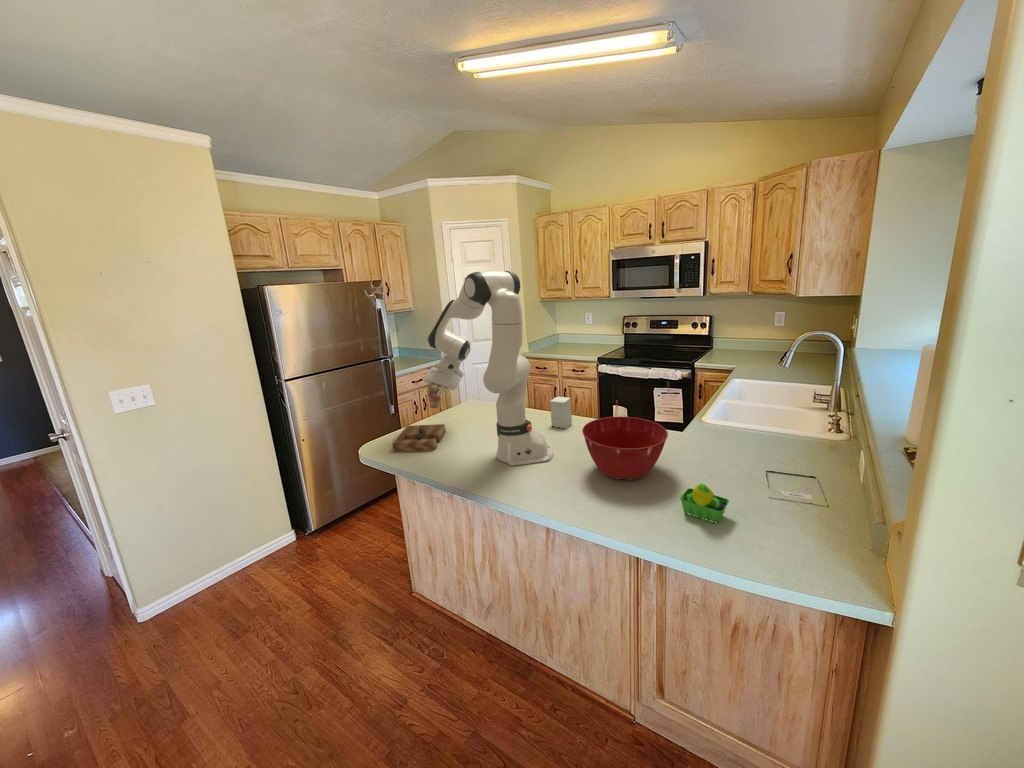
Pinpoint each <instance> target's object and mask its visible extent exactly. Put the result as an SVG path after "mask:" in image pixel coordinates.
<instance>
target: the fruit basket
mask: <svg viewBox="0 0 1024 768" xmlns="http://www.w3.org/2000/svg"><path fill="white" fill-rule="evenodd" d="M679 500H680V502H681V505H682V508H683V513H684V512H685V513H689V514H692V515H695V516H698V517H701V518H704V519H707V520H711V521H713V522H716V523H717V524H719V522H720V520H721V519H720V518H722V517H723V516H724V513H725V511H726V508H727V506H728V504H729V502H730V500H729V499H728V498H725V497H722V496H718V495H715V494H714V492H713V490H712V489H711V488H710V487H708V486H707V485H706V484H705V483H699V484H697V485H695V486H694V488H691V487H690V488H687V489H686V490H685V492H684V493H683V494H682V495H681V496H680V497H679ZM685 513H684V514H685ZM692 515H691V516H692ZM722 515H723V516H722ZM701 518H700V519H701ZM718 521H719V522H718Z"/></svg>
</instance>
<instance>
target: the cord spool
mask: <svg viewBox="0 0 1024 768" xmlns="http://www.w3.org/2000/svg"><path fill="white" fill-rule="evenodd" d="M427 389H428V390H427ZM427 389H426V391H428V393H427V397H428V398H427V400H428V403H429V404H428V405H429V408H430V409H439V408H441V406H442V405H441V395H440V396H436V395H435V393H436V392H437V391H439V390H440V387H439V386H438V384H429V385H428V384H427Z"/></svg>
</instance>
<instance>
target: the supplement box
mask: <svg viewBox="0 0 1024 768" xmlns="http://www.w3.org/2000/svg"><path fill="white" fill-rule="evenodd" d="M549 403H550V418H551V419H550V420H551V427H552V426H554V427H553V428H558V427H560V428H559V429H564V428H566V429H567V428H569V425H570V424H571V423H572V424H573V418H572V417H573V416H572V415H573V414H572V412H573V411H572V398H571V397H565V396H556V397H554V398H552V399H551V400H550V401H549ZM572 424H571V425H572ZM571 425H570V426H571Z"/></svg>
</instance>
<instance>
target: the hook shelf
mask: <svg viewBox="0 0 1024 768" xmlns="http://www.w3.org/2000/svg"><path fill="white" fill-rule="evenodd" d="M445 432H446V424H445V423H442V424H441V423H439V424H420V425H419V424H418V425H406V426H405V428H404V429H403V430H402V431H401V432H400V434H398V435H397V437H396V438H395V439H394V441H393V442H392V443H391V444H392V445H391V446H392V451H393V452H394V453H399V452H398V451H408V452H425V451H424V450H435V449H436V450H437V448H438V445H437V443H440V442H442V439H443V438H444V436H445V435H446V433H445ZM442 437H443V438H442ZM421 450H422V451H421ZM436 450H435V451H436Z"/></svg>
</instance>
